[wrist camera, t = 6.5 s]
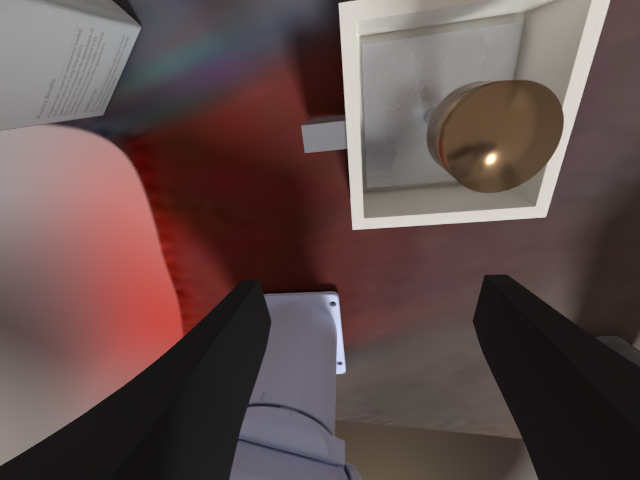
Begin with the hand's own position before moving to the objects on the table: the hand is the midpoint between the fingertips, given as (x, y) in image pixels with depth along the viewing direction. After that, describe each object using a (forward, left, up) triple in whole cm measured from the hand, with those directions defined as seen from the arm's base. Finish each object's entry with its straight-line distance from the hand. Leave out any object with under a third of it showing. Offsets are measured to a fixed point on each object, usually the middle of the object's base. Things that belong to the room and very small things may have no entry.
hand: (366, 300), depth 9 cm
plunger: (+4, -4, -10) cm, 11 cm away
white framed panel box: (+4, -4, -10) cm, 12 cm away
